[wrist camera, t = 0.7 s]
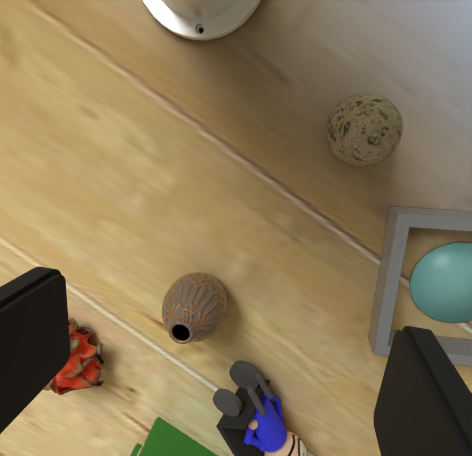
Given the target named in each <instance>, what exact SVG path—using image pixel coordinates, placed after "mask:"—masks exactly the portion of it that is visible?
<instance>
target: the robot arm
mask: <svg viewBox="0 0 472 456" xmlns="http://www.w3.org/2000/svg"><path fill="white" fill-rule="evenodd" d="M260 1H261V0H152V1H151V0H143V2H144V4H145V6H146V7H147V9H148V10H149V12H150V13H151V14H152V16H153V17H154V18H155V19H156V20H157V21H158V22H159V23H160V24H161V25H163V26H164V27H165V28H167V29H168V30H170V31H171V32H173V33H175V34H177V35H179V36H181V37H184V38H188V39H191V40H205V41H206V40H211V39H217V38H220V37H222V36H225V35H227V34H230V33H231V32H233V31H234V30H236V29H237V28H239V27H240V26H241V25H242V24H243V23H244V22H245V21H246V20H247V19H248V18H249V17H251V15H252V14H253V12H254V11H255V9H256V8H257V7H258V5H259V4H260ZM202 28H203V29H204V32H203V33H202V34H201V33H200V29H202ZM70 353H71V350H70V337H69V323H68V309H67V295H66V281H65V278H64V276H62V275H61V273H60V271H59V270H57V269H51V268H44V267H36V268H33V269H32V270H30V271H28V272H26V273H24V274H23V275H21V276H19V277H17V278H15V279H14V280H12V281H10V282H8V283H7V284H5V285H3V286H1V287H0V434H1V433H2V432H3V431H4V429H5V428H6V427H7V426H8V425H9V424H10V423H11V422H12V421H13V420H14V419H15V418H16V417H17V416H18V415H19V414H20V413H21V412H22V411H23V409H24V408H25V407H26V406H27V405H28V404H29V403H30V402H31V401H32V400H33V399H34V398H35V397H36V396H37V395H38V394H39V393H40V392H41V391H42V390H43V388H44V387H45V386H46V385H47V384H48V383H49V382H50V381H51V380H52V379H53V378H54V377H55V376H56V375H57V374H58V373H59V372H60V371H61V370H62V369H63V367H64V366H65V365H66V364H67V362H68V361H69V358H70ZM374 428H375V432H376V436H377V440H378V444H379V448H380V452H381V456H472V393H471V392H470V391H469V389H468V387H467V386H466V384H465V383H464V381H463V380H462V378H461V376H460V375H459V373H458V372H457V370H456V369H455V367H454V365H453V364H452V362H451V361H450V359H449V358H448V356H447V354H446V353H445V351H444V350H443V348H442V347H441V345H440V343H439V342H438V340H437V339H436V337H435V336H434V334H433V332H432V331H431V330H428V329H422V328H416V327H410V326H405V327H404V328H403V330H402V331H400V330H397V331H396V332H395V335H394V338H393V342H392V346H391V350H390V353H389V357H388V361H387V365H386V369H385V372H384V376H383V380H382V384H381V388H380V391H379V395H378V399H377V403H376V407H375V411H374Z"/></svg>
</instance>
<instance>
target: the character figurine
mask: <svg viewBox="0 0 472 456" xmlns="http://www.w3.org/2000/svg"><path fill="white" fill-rule="evenodd" d="M230 376H231V378H232V380H233V381H234V382H235V383H236V384H237V385H238V386H239V389H238V390H237V392H236V394H234V393H233V392H231V391H229V390H227V389H218V390H217V392H216V393H215V395H214V396H213V402H214V404H215V406H216V407H217V408H218V409H219V410H220V411H221V412H222V413H223V416H222V418H221V419H220V421H219V423H218V424H217V426H216V427H217V428H218V430H219V432H220V433H221V435H222V436H223V438H224V440H225V441H226V443H227V445H228V446H229V448H230V450H231V451H232V453H233V454H234V456H307V451H306V448H305V445H304V443H303V442H302V440H301V439H300V438H299V437H298V436H297V435H296V434H294V433H292V432H289V431H287V430H286V428H285V427H284V425H283V424H284V423H285V419H284V417H283V416H282V411H281V404H280V398H278V397H276V396H274V395H273V393H272V391H270V389H269V387H268V385H269V383H270V380H264V378H263V377H262V375H261V374H260V373H259V372H258V371H257V369H256V368H255V367H254V366H252V365H251V364H249V363H247V362H245V361H236V362H235V363H234V364H233V366H232V367H231V369H230ZM270 401H272V402H274V404H275V409H274V407H273V405H272V404H271V402H270Z"/></svg>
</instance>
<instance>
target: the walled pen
mask: <svg viewBox="0 0 472 456" xmlns="http://www.w3.org/2000/svg"><path fill="white" fill-rule="evenodd" d="M409 227H416V228H430V229H444V230H459V231H472V211H460V210H444V209H428V208H412V207H395V206H390V208H389V215H388V221H387V227H386V233H385V239H384V245H383V251H382V258H381V264H380V270H379V276H378V282H377V288H376V294H375V300H374V307H373V313H372V319H371V325H370V331H369V337H368V338H369V341H370V344H371V347H372V350H373V353H374V354H375V355H383V356H389V353H390V350H391V346H392V342H393V338H394V335H395V332H396V331H390V330H391V325H392V319H393V314H394V308H395V303H396V298H397V292H398V287H399V281H400V276H401V270H402V265H403V259H404V254H405V249H406V243H407V238H408V232H409ZM410 293H411V296H412V299H413V300H414V302H415V304H416V305H417V306H418V308H419V309H420V310H421V311H422V312H423V313H425V314H426V315H428V316H429V317H431V318H433V319H436V320H439V321H443V322H450V323H459V322H466V321H470V320H472V243H468V242H456V243H449V244H445V245H442V246H440V247H437V248H435V249H433V250H432V251H430V252H428V253H427V254H426V255H425V256H423V257H422V258H421V259H420V261H419V262H418V263H417V264H416V266H415V268H414V269H413V272H412V274H411V278H410ZM435 337H436V339H437V340H438V342H439V343H440V345H441V347H442V348H443V350H444V351H445V353H446V354H447V356H448V358H449V359H450V361H451V362H452V364H456V365H464V366H472V340H467V339H458V338H449V337H440V336H435Z"/></svg>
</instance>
